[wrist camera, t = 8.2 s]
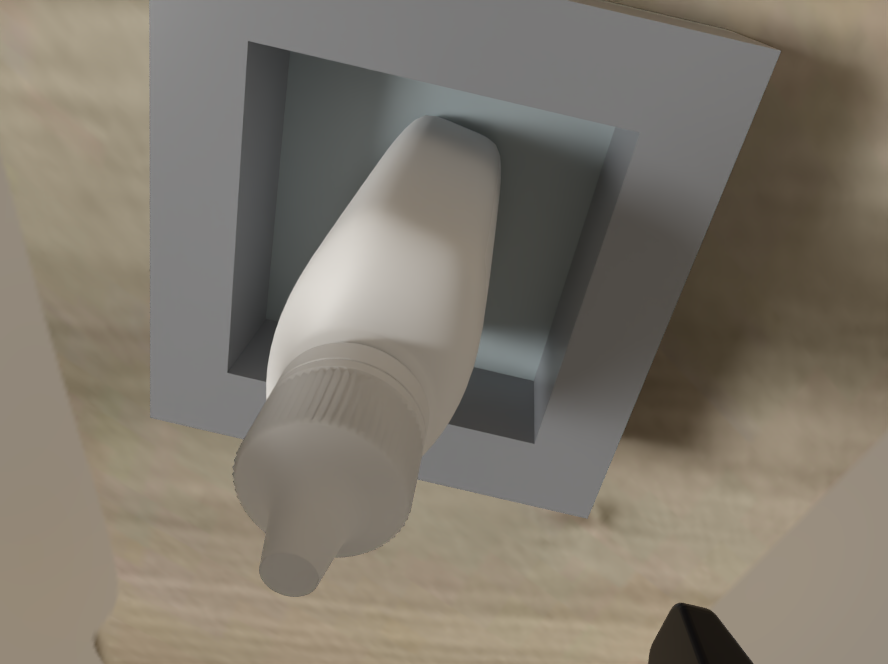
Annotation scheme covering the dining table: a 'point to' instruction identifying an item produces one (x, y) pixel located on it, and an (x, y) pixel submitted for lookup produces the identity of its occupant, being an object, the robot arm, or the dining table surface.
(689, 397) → the dining table surface
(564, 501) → the holder block
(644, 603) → the dining table surface
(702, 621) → the robot arm
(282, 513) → the eye dropper bottle
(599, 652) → the dining table surface
